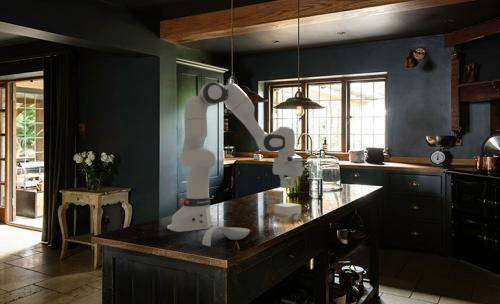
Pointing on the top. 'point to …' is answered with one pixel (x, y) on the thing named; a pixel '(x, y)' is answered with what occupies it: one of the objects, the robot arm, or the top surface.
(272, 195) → the supplement box
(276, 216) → the block
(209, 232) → the white curved spoon
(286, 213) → the tower top
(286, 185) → the sage cube
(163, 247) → the top surface
